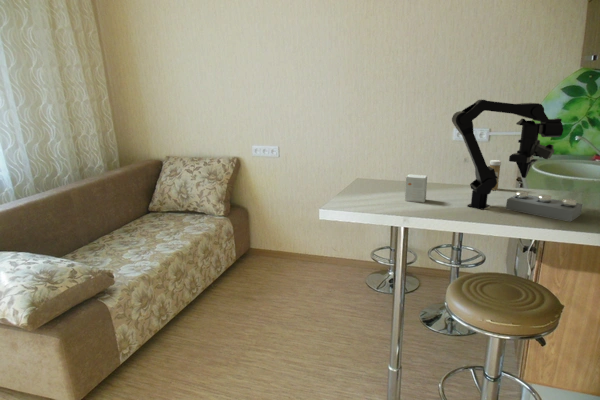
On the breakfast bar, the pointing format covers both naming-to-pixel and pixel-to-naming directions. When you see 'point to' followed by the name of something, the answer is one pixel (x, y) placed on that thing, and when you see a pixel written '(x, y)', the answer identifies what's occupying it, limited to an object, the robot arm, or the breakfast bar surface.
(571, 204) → the knob right
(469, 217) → the breakfast bar surface
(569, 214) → the mount
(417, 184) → the small box
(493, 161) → the sprinkles bottle
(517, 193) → the knob left
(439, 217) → the breakfast bar surface
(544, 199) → the knob middle
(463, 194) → the breakfast bar surface
